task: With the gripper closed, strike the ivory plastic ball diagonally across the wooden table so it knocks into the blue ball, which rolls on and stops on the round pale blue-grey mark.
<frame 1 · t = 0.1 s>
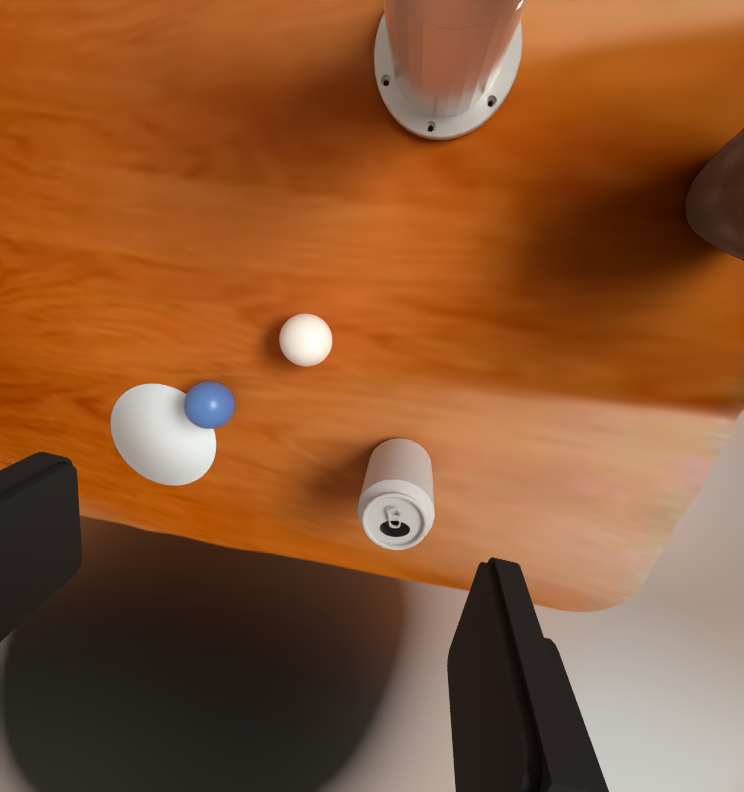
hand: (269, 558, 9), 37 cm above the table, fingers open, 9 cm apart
cue ball: (306, 340, 42), on the table
object ball: (209, 405, 46), on the table
plant pot: (729, 198, 37), on the table
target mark: (163, 436, 51), on the table
can: (400, 462, 49), on the table
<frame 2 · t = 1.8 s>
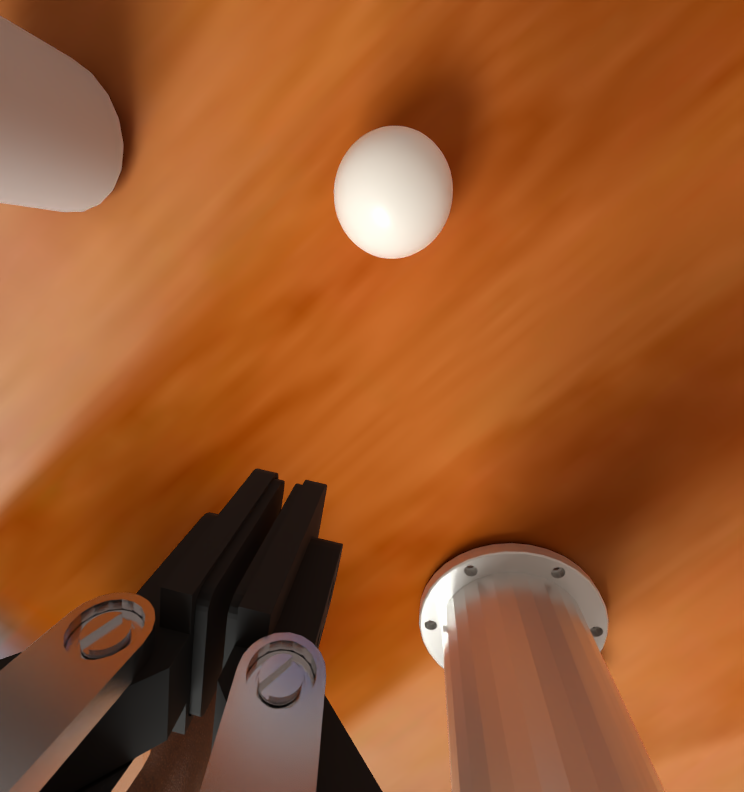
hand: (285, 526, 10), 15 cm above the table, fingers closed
cue ball: (392, 196, 19), on the table
plant pot: (181, 679, 35), on the table
can: (73, 141, 22), on the table
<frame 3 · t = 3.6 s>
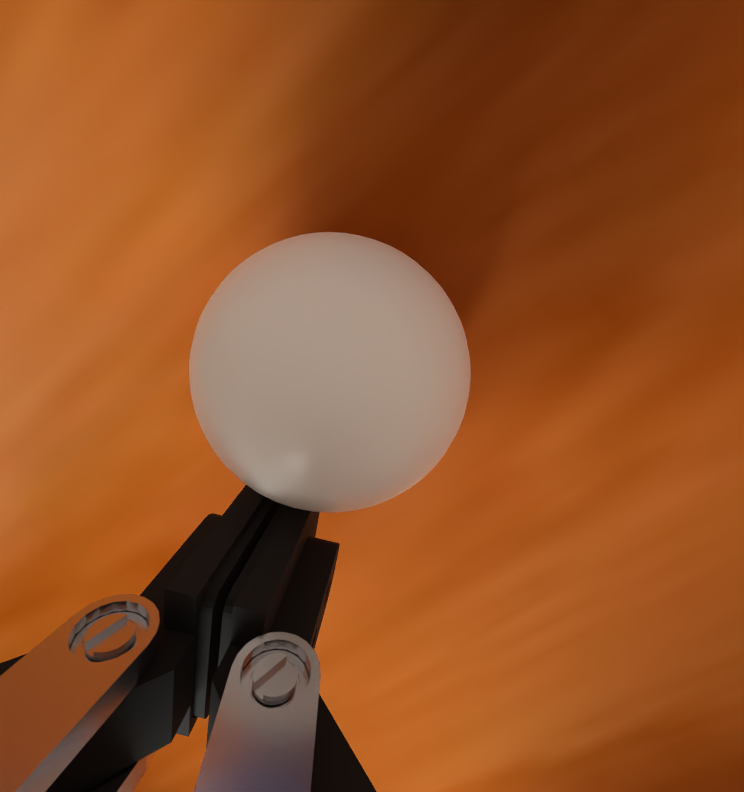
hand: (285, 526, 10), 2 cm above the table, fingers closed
cue ball: (334, 374, 8), on the table
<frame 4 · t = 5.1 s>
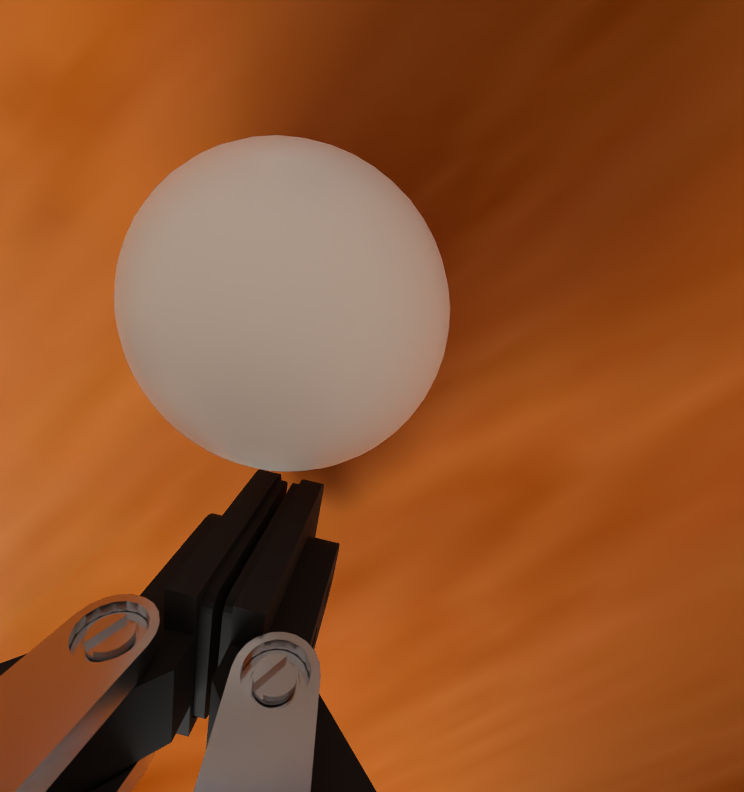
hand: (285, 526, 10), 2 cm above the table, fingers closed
cue ball: (294, 316, 7), on the table
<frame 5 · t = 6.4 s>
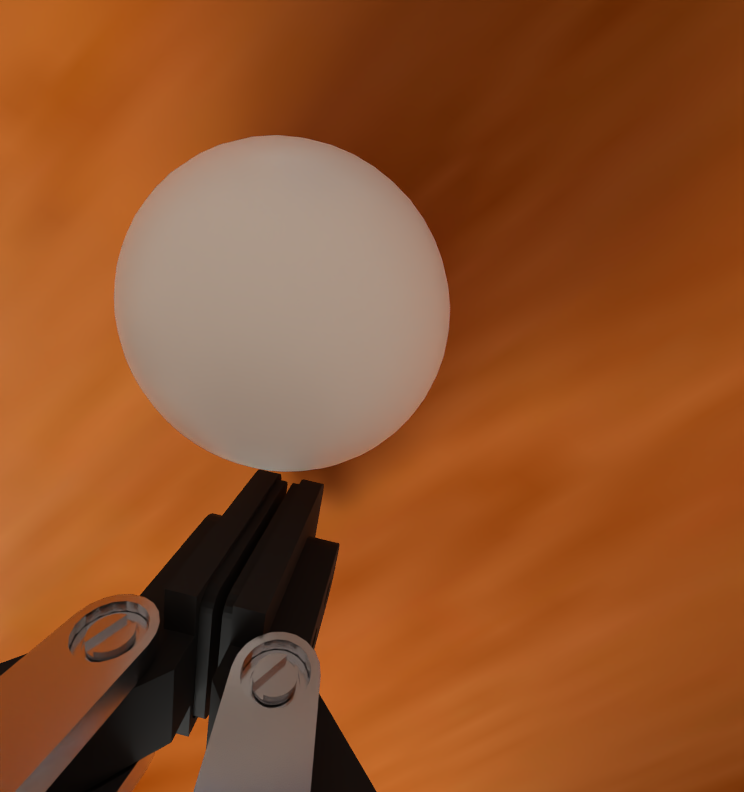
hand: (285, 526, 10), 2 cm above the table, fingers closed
cue ball: (294, 316, 7), on the table
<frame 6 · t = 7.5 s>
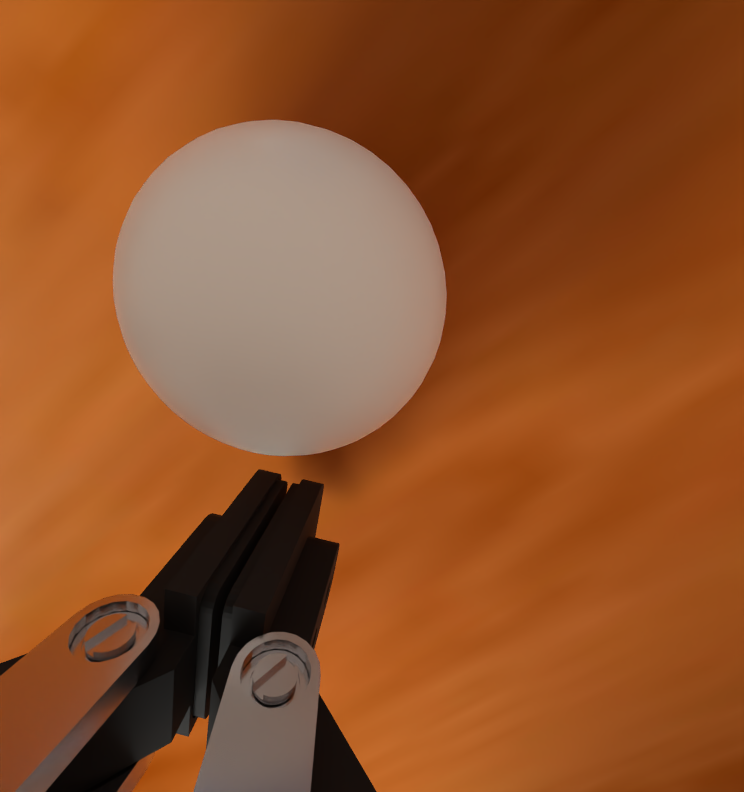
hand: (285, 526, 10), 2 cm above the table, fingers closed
cue ball: (292, 303, 7), on the table
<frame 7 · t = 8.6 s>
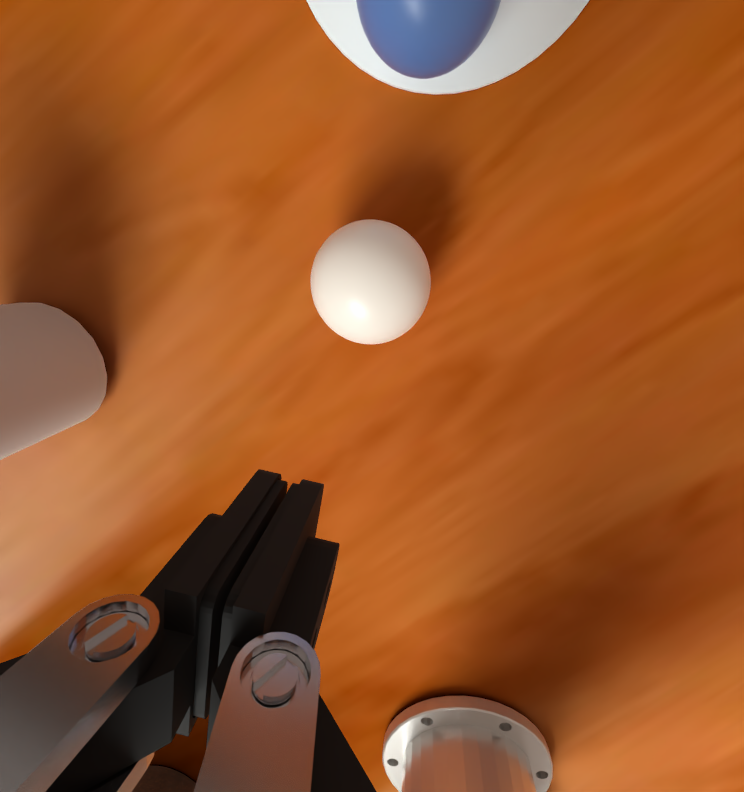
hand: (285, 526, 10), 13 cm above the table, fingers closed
cue ball: (370, 284, 19), on the table
plant pot: (167, 788, 38), on the table
can: (63, 361, 25), on the table
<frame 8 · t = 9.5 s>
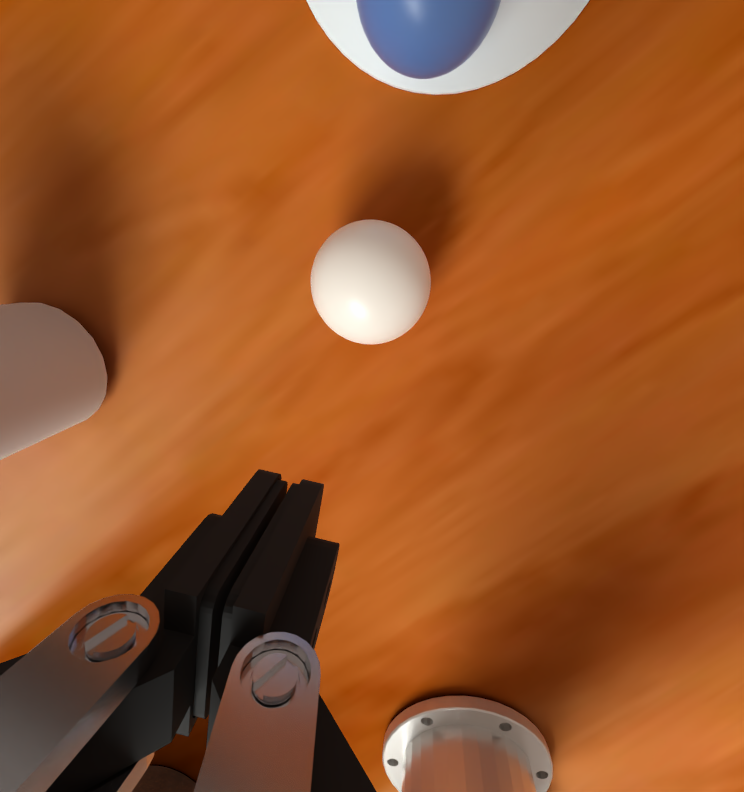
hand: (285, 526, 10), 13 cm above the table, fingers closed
cue ball: (370, 284, 19), on the table
plant pot: (167, 788, 38), on the table
can: (63, 361, 25), on the table
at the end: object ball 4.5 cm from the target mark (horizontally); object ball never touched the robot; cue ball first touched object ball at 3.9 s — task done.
